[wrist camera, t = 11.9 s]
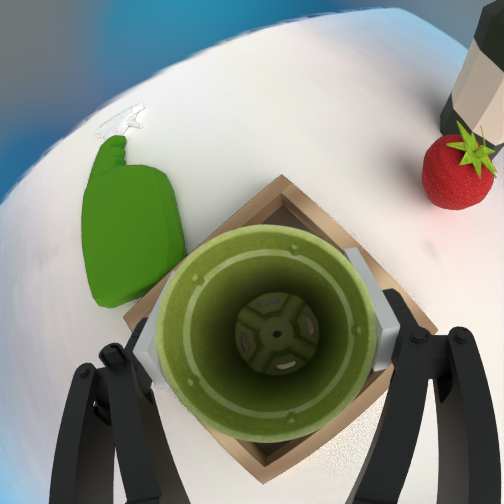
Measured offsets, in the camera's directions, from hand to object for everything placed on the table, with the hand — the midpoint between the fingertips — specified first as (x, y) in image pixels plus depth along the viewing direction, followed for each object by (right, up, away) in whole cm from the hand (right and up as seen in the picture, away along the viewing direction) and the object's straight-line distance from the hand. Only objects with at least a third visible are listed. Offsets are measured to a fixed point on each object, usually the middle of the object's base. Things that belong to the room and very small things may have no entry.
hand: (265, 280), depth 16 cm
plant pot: (+1, -4, +3) cm, 5 cm away
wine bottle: (+25, +15, +6) cm, 29 cm away
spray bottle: (-14, +8, +11) cm, 20 cm away
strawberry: (+16, +6, +5) cm, 18 cm away
